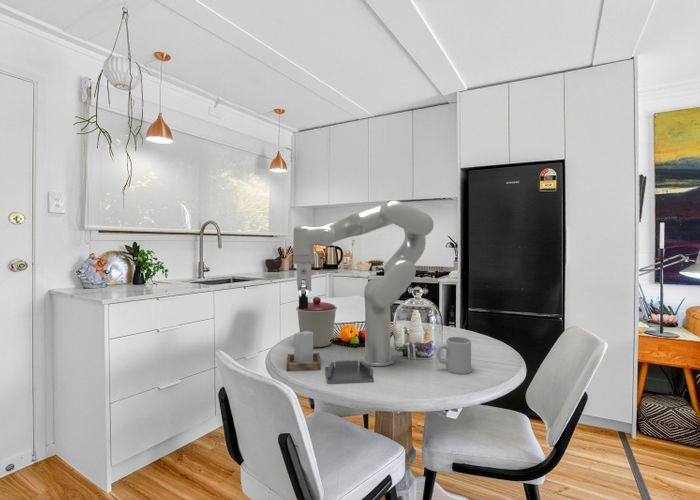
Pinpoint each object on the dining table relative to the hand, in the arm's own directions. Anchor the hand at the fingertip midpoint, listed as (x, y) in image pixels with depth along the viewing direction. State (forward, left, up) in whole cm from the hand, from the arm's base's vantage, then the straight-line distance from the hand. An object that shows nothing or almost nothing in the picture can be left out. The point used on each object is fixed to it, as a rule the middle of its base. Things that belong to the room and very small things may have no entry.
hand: (303, 306), depth 140 cm
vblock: (-15, +13, -22) cm, 30 cm away
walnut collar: (0, 0, -22) cm, 22 cm away
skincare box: (0, 0, -22) cm, 22 cm away
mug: (-53, +12, -22) cm, 59 cm away
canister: (-6, -27, -22) cm, 35 cm away
